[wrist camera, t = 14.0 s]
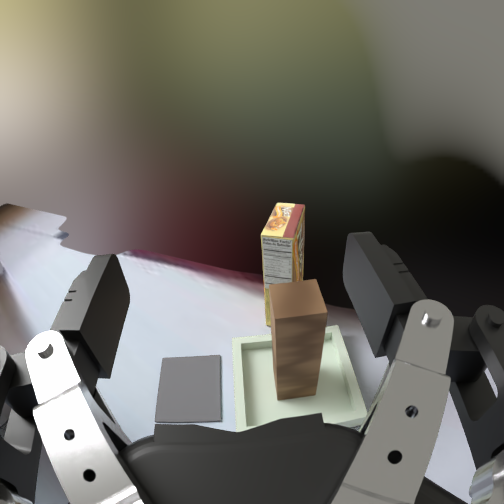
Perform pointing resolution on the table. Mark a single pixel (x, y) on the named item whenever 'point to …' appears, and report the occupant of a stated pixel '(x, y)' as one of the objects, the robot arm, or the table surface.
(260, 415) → the dish
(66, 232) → the table surface
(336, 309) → the table surface
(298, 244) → the candy box
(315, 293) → the block
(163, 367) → the mat
